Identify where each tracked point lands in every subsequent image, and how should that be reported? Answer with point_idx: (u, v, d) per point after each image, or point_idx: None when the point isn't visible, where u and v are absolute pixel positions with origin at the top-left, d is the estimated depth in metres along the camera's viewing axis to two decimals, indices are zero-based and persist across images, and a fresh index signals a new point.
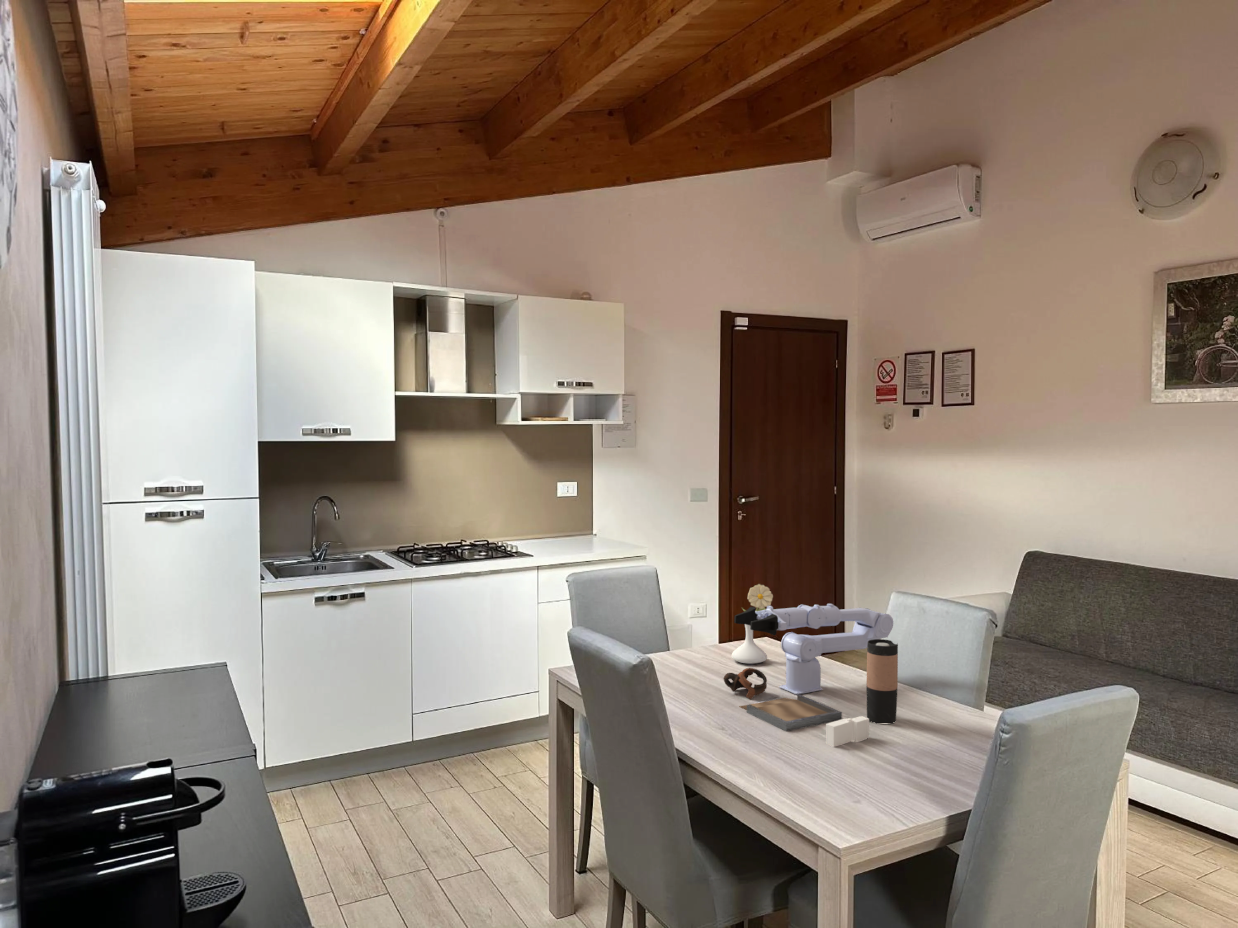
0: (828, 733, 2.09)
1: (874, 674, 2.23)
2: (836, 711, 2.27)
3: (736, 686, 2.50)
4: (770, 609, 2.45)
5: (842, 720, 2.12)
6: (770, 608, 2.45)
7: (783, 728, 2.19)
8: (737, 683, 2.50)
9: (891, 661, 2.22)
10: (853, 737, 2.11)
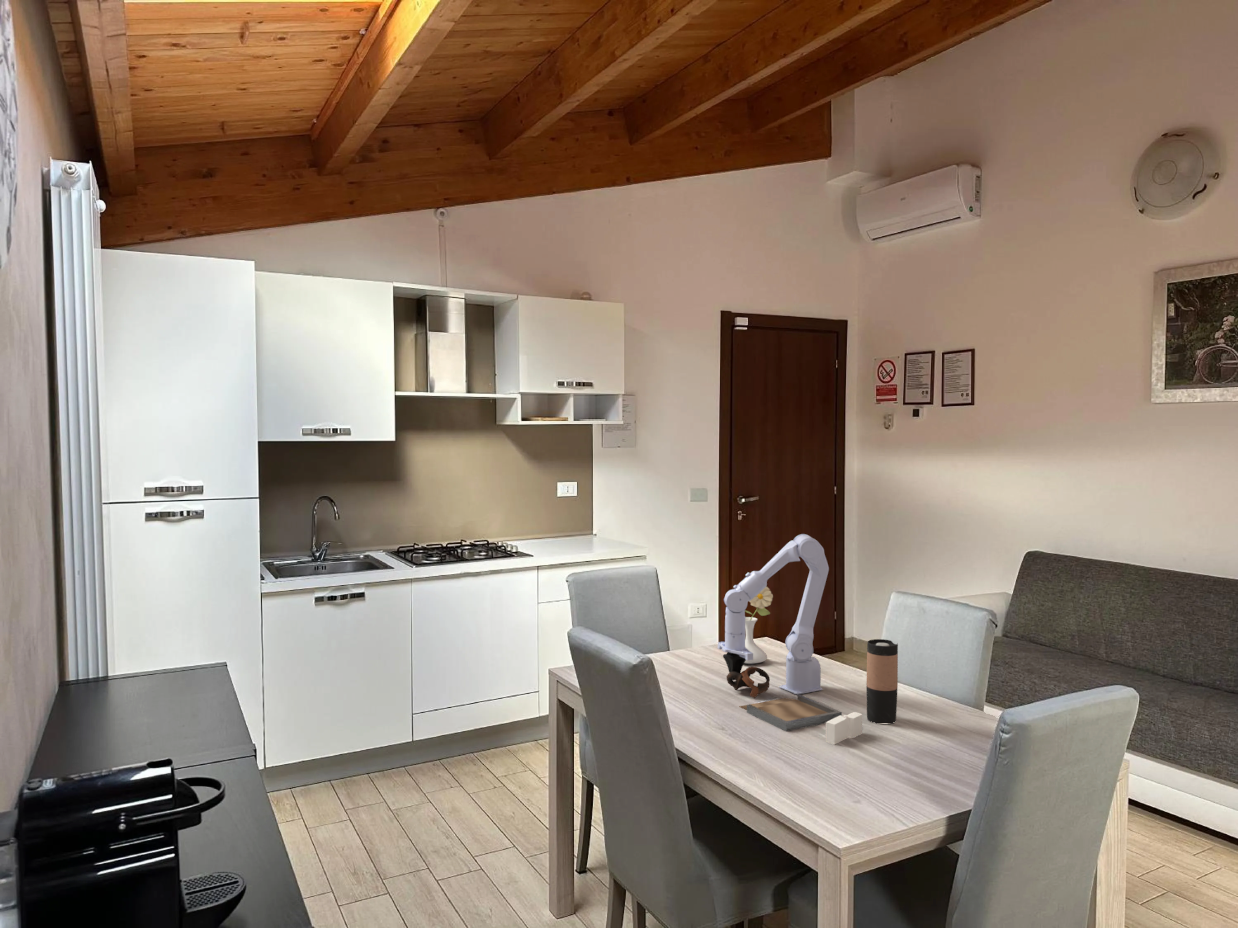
0: (828, 731, 2.10)
1: (874, 674, 2.23)
2: (836, 711, 2.27)
3: (738, 685, 2.51)
4: (727, 651, 2.49)
5: (839, 717, 2.14)
6: None
7: (783, 728, 2.19)
8: (739, 682, 2.51)
9: (891, 661, 2.22)
10: (849, 734, 2.14)
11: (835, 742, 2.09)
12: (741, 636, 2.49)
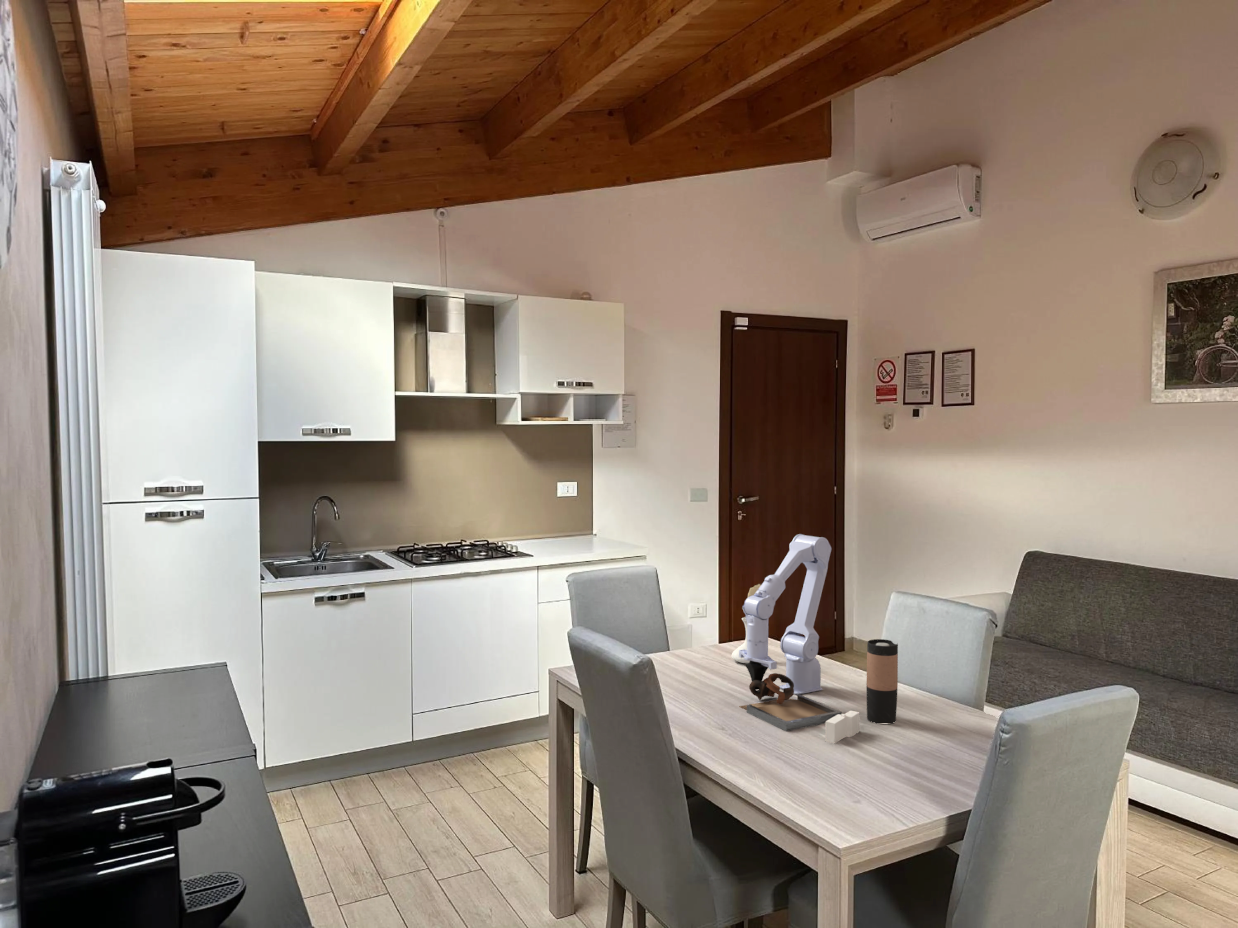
0: (828, 730, 2.10)
1: (874, 674, 2.23)
2: (836, 711, 2.27)
3: None
4: None
5: (837, 716, 2.14)
6: None
7: (783, 728, 2.19)
8: None
9: (891, 661, 2.22)
10: (847, 732, 2.15)
11: (835, 741, 2.10)
12: (764, 644, 2.40)
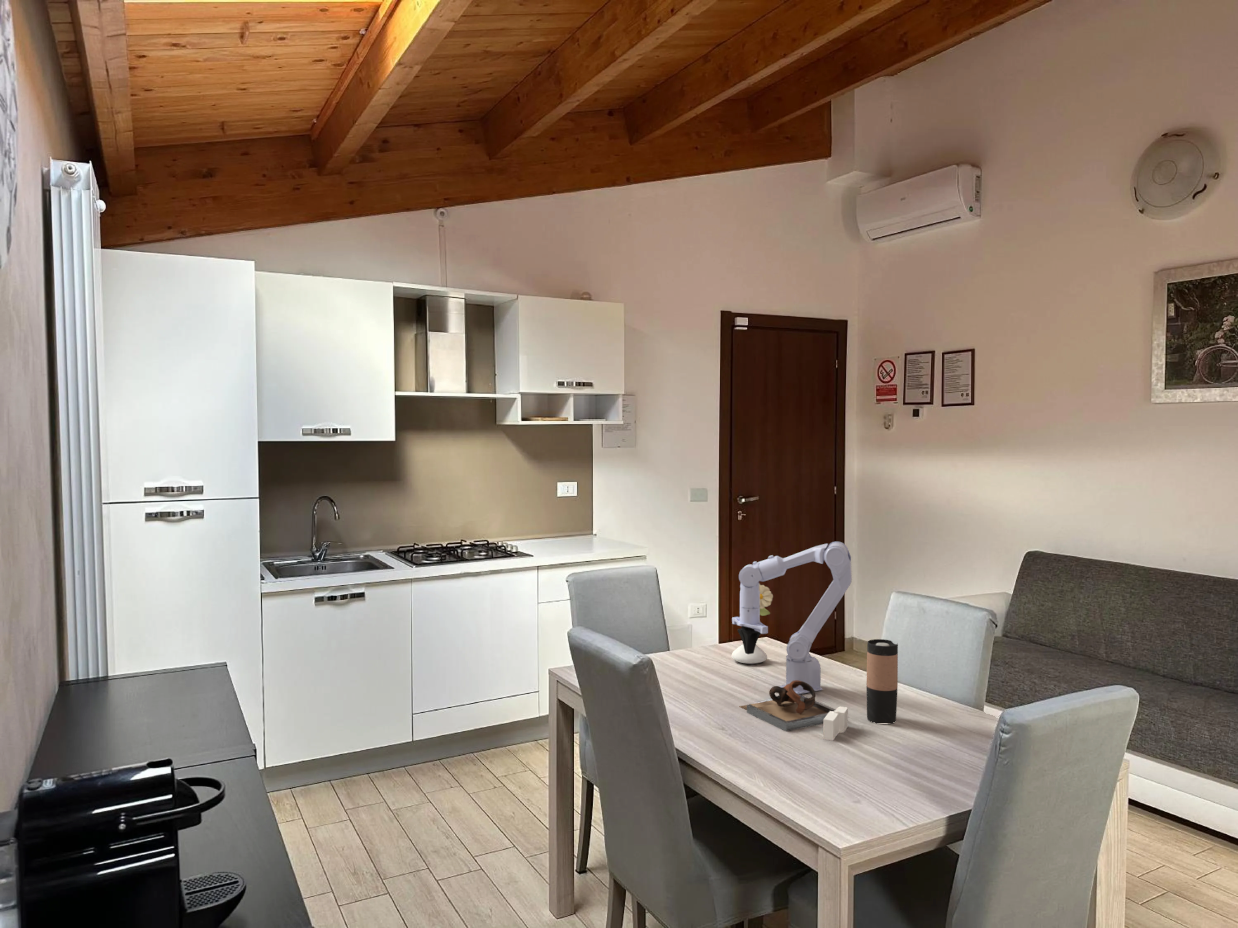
0: (826, 728, 2.12)
1: (874, 674, 2.23)
2: None
3: None
4: (742, 625, 2.53)
5: (830, 713, 2.17)
6: (741, 625, 2.53)
7: (783, 728, 2.19)
8: None
9: (891, 661, 2.22)
10: (839, 728, 2.18)
11: (833, 738, 2.12)
12: (756, 610, 2.52)
